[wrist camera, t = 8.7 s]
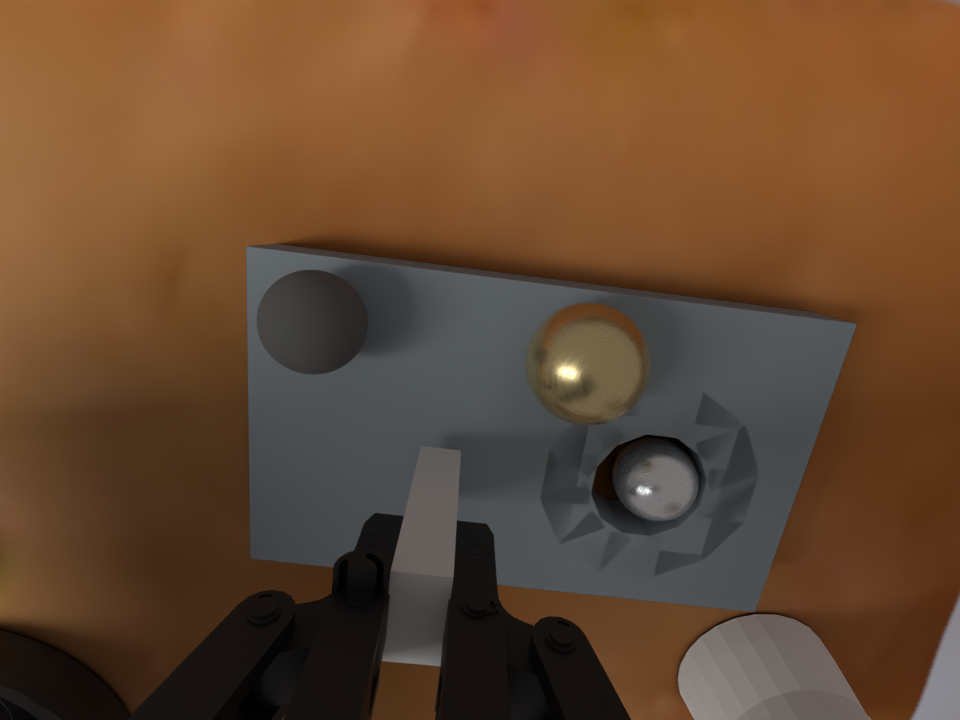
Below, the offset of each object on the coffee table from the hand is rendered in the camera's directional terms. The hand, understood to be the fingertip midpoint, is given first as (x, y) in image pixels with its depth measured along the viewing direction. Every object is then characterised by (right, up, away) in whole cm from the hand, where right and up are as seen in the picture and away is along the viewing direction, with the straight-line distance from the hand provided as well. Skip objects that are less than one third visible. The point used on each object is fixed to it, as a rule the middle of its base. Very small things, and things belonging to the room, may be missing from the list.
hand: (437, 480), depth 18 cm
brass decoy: (+5, +4, -2) cm, 7 cm away
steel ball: (+9, 0, +2) cm, 9 cm away
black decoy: (-4, +6, -2) cm, 7 cm away
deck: (+4, +2, +3) cm, 5 cm away
